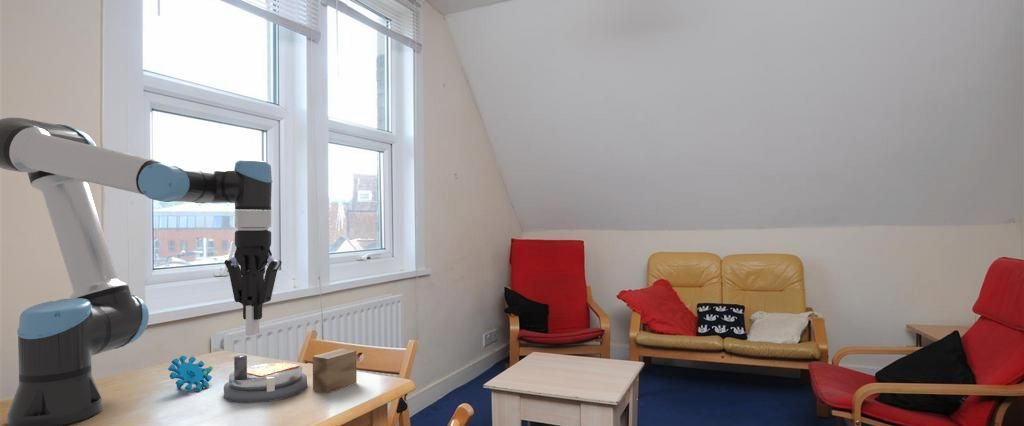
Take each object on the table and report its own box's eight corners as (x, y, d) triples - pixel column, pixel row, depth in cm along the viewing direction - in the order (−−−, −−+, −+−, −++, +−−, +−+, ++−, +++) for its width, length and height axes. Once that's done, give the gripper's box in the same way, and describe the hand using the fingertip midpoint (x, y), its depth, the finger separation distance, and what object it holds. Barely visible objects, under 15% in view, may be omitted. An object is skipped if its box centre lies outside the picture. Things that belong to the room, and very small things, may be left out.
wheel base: (207, 394, 130) (207, 372, 130) (275, 375, 146) (275, 355, 146) (256, 407, 121) (256, 384, 121) (323, 385, 136) (323, 364, 136)
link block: (312, 390, 133) (312, 356, 133) (342, 380, 141) (342, 348, 141) (327, 393, 131) (327, 358, 131) (356, 383, 138) (356, 350, 138)
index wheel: (234, 374, 138) (234, 345, 138) (303, 368, 143) (303, 340, 143) (223, 393, 123) (223, 361, 123) (300, 386, 128) (300, 355, 128)
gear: (181, 390, 128) (164, 355, 131) (166, 407, 129) (150, 372, 132) (223, 384, 138) (206, 351, 141) (209, 399, 139) (193, 367, 143)
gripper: (289, 229, 130) (288, 331, 130) (238, 228, 132) (237, 329, 132) (269, 230, 122) (268, 338, 122) (216, 229, 125) (215, 336, 125)
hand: (252, 333), depth 127 cm, fingers closed
